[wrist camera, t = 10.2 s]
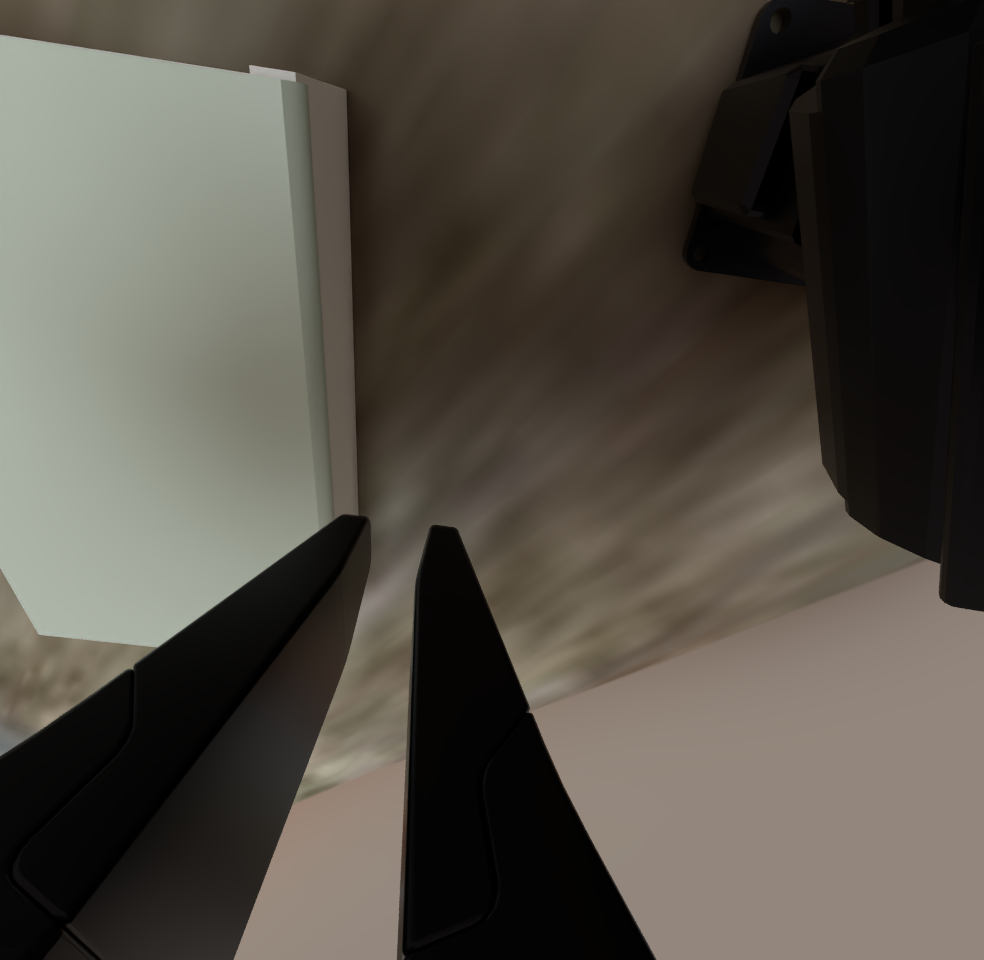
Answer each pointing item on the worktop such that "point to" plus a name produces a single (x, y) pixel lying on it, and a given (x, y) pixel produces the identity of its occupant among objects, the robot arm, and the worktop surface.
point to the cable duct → (330, 271)
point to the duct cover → (154, 338)
